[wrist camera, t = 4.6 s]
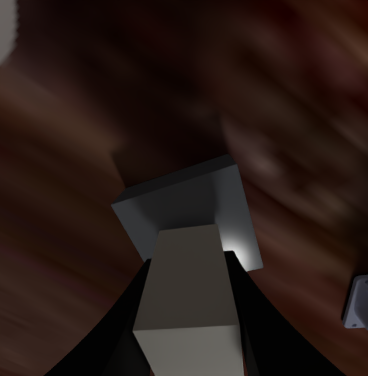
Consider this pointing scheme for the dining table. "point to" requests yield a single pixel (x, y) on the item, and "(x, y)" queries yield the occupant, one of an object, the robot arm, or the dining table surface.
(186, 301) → the cream block
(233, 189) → the plate
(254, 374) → the robot arm
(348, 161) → the dining table surface
